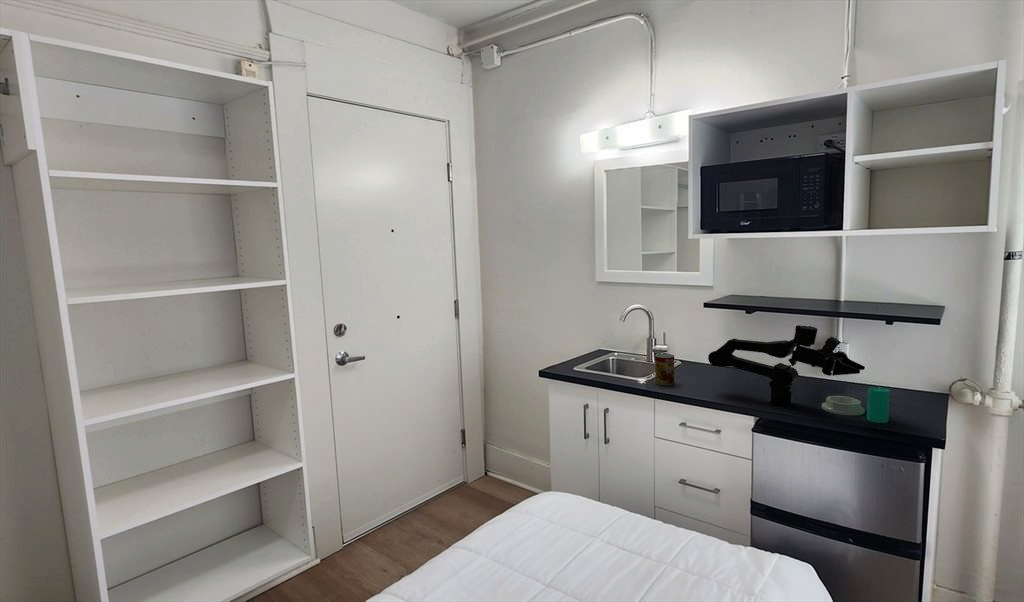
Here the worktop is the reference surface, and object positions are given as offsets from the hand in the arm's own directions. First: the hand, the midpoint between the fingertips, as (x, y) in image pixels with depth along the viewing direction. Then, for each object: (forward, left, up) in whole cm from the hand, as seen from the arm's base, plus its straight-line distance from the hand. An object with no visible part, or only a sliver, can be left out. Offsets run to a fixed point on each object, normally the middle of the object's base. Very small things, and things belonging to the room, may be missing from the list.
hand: (862, 370), depth 181 cm
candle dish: (-6, +5, -16) cm, 18 cm away
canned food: (-72, +1, -16) cm, 74 cm away
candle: (+5, 0, -16) cm, 17 cm away
